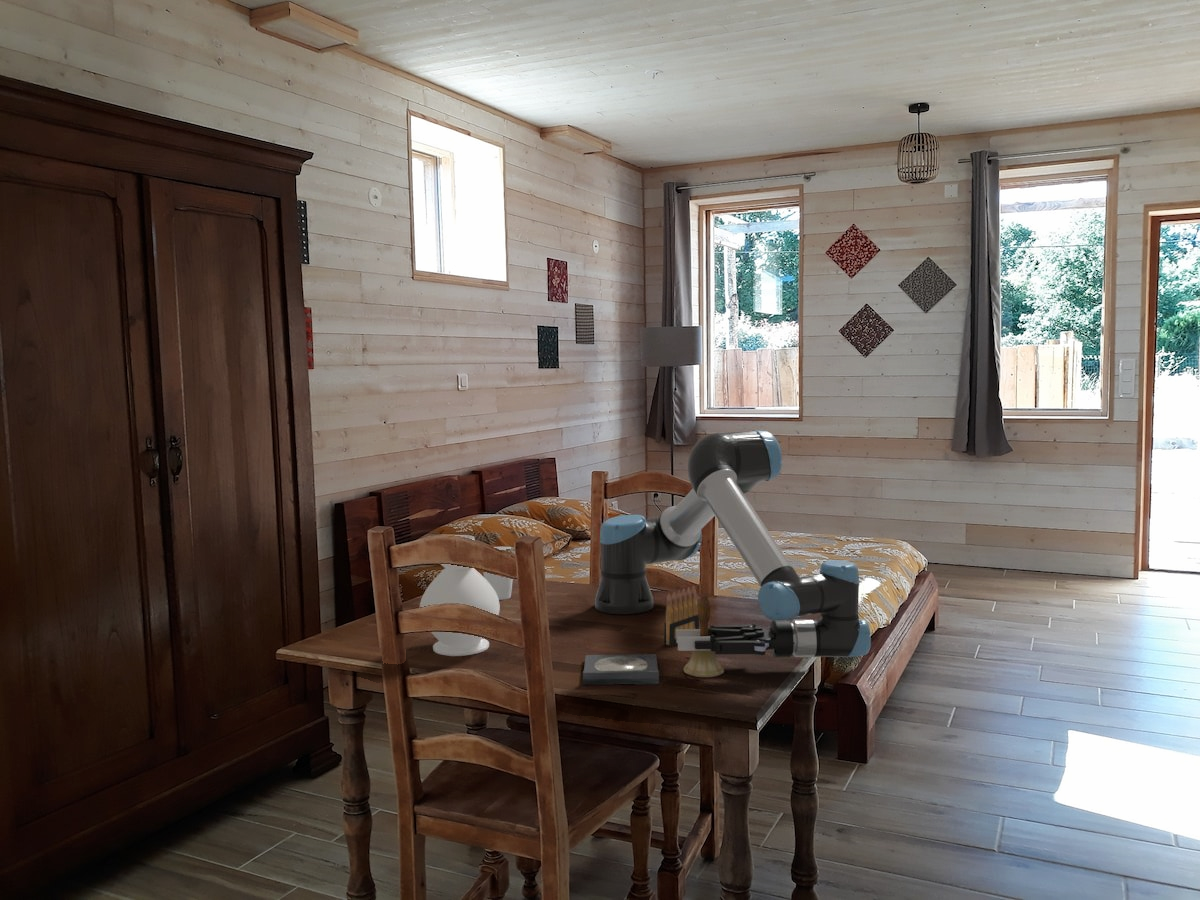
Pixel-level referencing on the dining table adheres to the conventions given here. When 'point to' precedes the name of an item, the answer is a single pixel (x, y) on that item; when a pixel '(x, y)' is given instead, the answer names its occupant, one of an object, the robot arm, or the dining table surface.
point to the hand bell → (703, 660)
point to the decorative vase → (461, 589)
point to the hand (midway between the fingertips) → (677, 640)
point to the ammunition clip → (680, 614)
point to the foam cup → (500, 582)
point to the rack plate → (620, 669)
